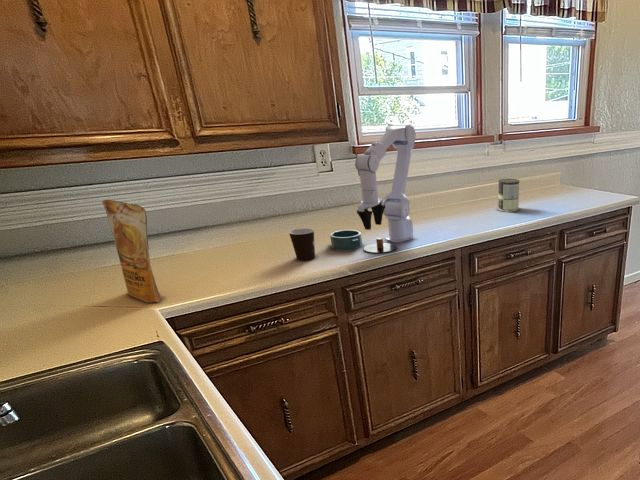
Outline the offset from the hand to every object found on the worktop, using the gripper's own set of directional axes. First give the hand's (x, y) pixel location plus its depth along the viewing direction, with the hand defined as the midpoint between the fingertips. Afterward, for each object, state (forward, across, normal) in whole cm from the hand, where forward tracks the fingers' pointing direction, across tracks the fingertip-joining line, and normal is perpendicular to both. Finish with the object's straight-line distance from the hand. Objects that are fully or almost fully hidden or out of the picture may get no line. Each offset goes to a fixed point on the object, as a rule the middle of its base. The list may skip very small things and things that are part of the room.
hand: (373, 226), depth 195 cm
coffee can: (+9, -85, +27) cm, 89 cm away
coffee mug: (+9, +16, -20) cm, 27 cm away
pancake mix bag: (+9, +66, -41) cm, 78 cm away
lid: (+8, -1, +2) cm, 9 cm away
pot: (+9, 0, -13) cm, 16 cm away
